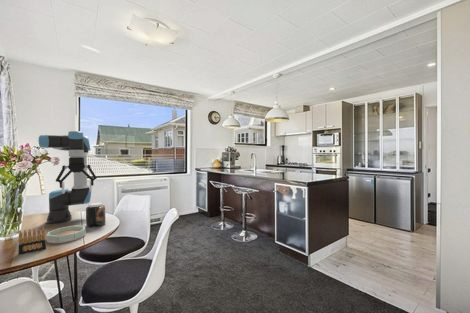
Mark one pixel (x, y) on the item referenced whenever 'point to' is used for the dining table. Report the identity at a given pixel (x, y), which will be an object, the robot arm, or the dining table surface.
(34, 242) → the ammunition clip
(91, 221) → the jar
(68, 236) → the octagonal tray
